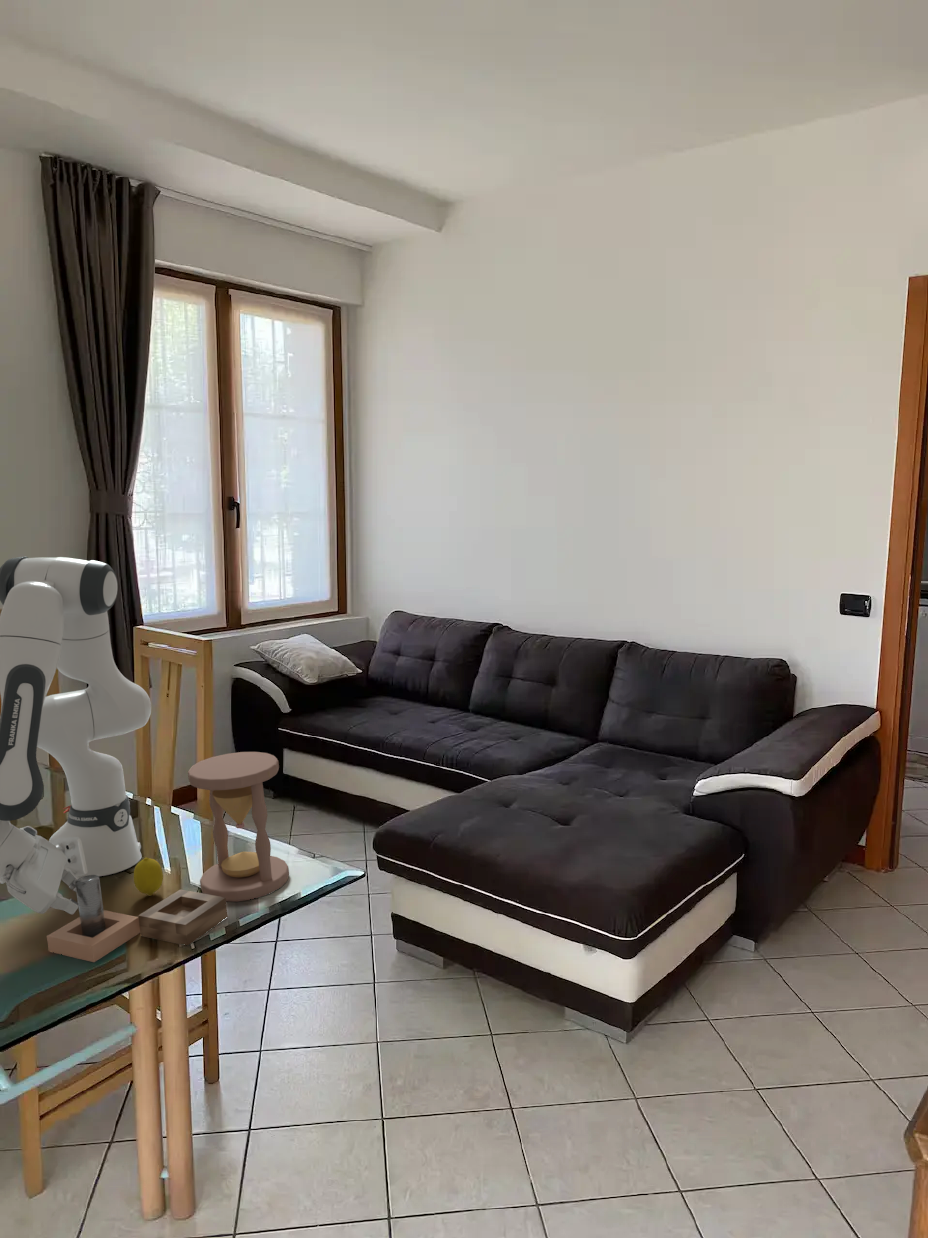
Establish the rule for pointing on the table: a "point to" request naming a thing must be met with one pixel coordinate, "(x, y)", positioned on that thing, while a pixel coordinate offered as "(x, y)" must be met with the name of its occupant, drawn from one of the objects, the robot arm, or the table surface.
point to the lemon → (148, 876)
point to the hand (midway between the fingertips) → (78, 898)
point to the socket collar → (94, 948)
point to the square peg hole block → (183, 917)
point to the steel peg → (90, 905)
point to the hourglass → (239, 824)
